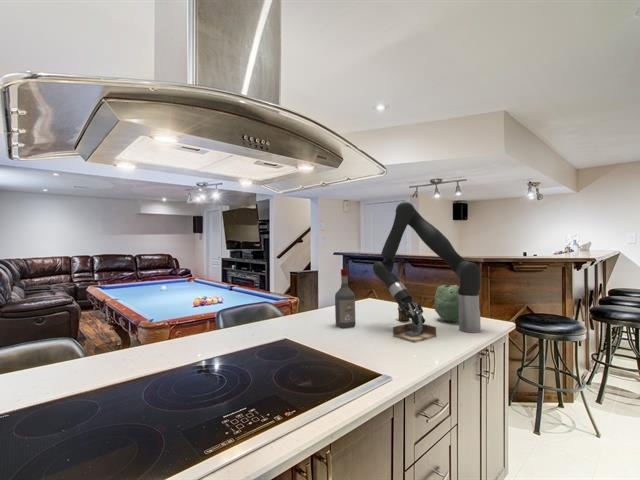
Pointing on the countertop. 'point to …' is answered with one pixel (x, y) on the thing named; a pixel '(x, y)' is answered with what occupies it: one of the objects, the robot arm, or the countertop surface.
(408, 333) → the bracket
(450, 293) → the green rounded lump
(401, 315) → the condiment
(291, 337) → the countertop surface
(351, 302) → the liquor
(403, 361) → the countertop surface
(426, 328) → the walls
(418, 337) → the tray
